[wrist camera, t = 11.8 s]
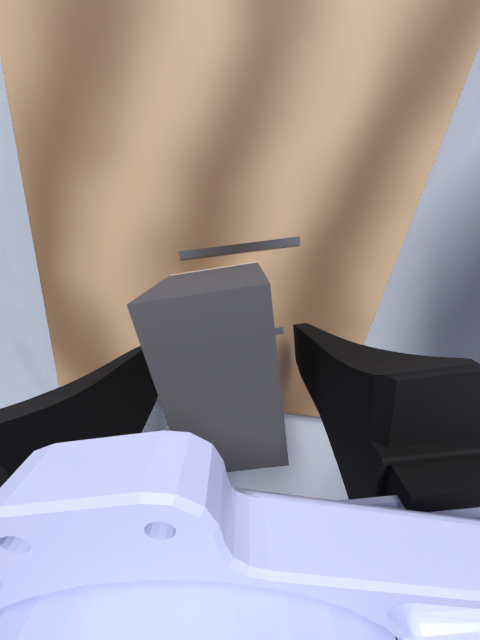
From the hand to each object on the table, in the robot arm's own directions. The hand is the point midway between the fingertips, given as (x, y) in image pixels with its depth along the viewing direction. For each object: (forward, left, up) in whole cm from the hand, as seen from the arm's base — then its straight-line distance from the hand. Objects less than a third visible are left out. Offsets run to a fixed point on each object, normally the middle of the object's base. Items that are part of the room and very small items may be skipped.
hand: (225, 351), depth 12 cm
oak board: (+1, -6, -3) cm, 7 cm away
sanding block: (0, 0, -2) cm, 2 cm away
